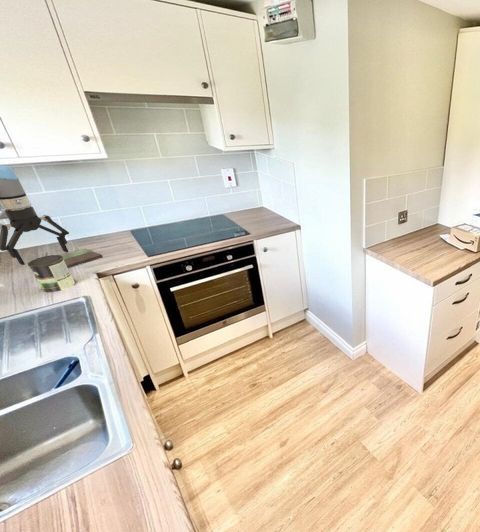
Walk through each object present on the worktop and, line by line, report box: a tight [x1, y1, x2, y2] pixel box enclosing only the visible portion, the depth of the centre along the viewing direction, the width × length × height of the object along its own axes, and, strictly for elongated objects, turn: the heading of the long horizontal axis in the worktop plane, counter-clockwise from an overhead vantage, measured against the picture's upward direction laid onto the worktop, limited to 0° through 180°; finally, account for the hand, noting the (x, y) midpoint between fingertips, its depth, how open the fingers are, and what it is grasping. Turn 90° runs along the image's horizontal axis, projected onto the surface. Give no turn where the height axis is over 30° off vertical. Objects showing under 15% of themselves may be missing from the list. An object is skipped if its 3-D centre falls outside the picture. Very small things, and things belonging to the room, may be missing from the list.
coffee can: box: [27, 254, 76, 293], centre depth 136 cm, size 10×10×14 cm
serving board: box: [61, 248, 103, 269], centre depth 162 cm, size 20×16×2 cm
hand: (45, 257), depth 133 cm, fingers open, 13 cm apart
